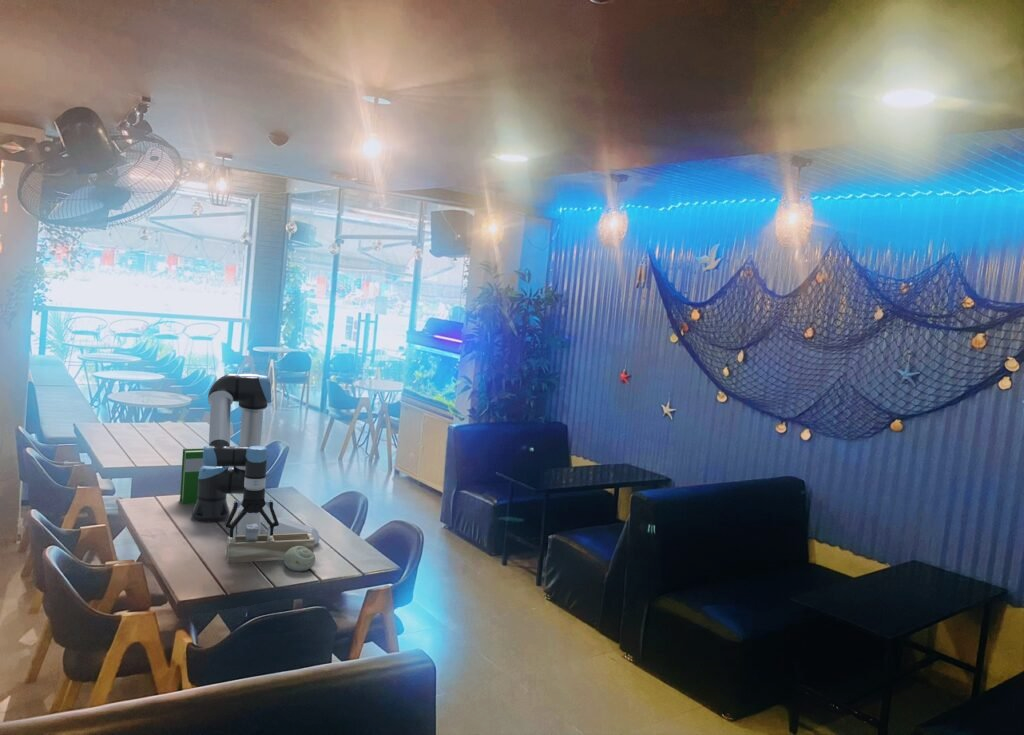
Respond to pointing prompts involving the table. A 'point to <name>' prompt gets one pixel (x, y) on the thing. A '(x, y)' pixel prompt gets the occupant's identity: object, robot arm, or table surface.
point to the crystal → (295, 528)
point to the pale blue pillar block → (251, 533)
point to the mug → (248, 522)
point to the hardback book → (190, 474)
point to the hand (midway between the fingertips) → (250, 544)
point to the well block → (266, 546)
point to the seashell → (299, 558)
